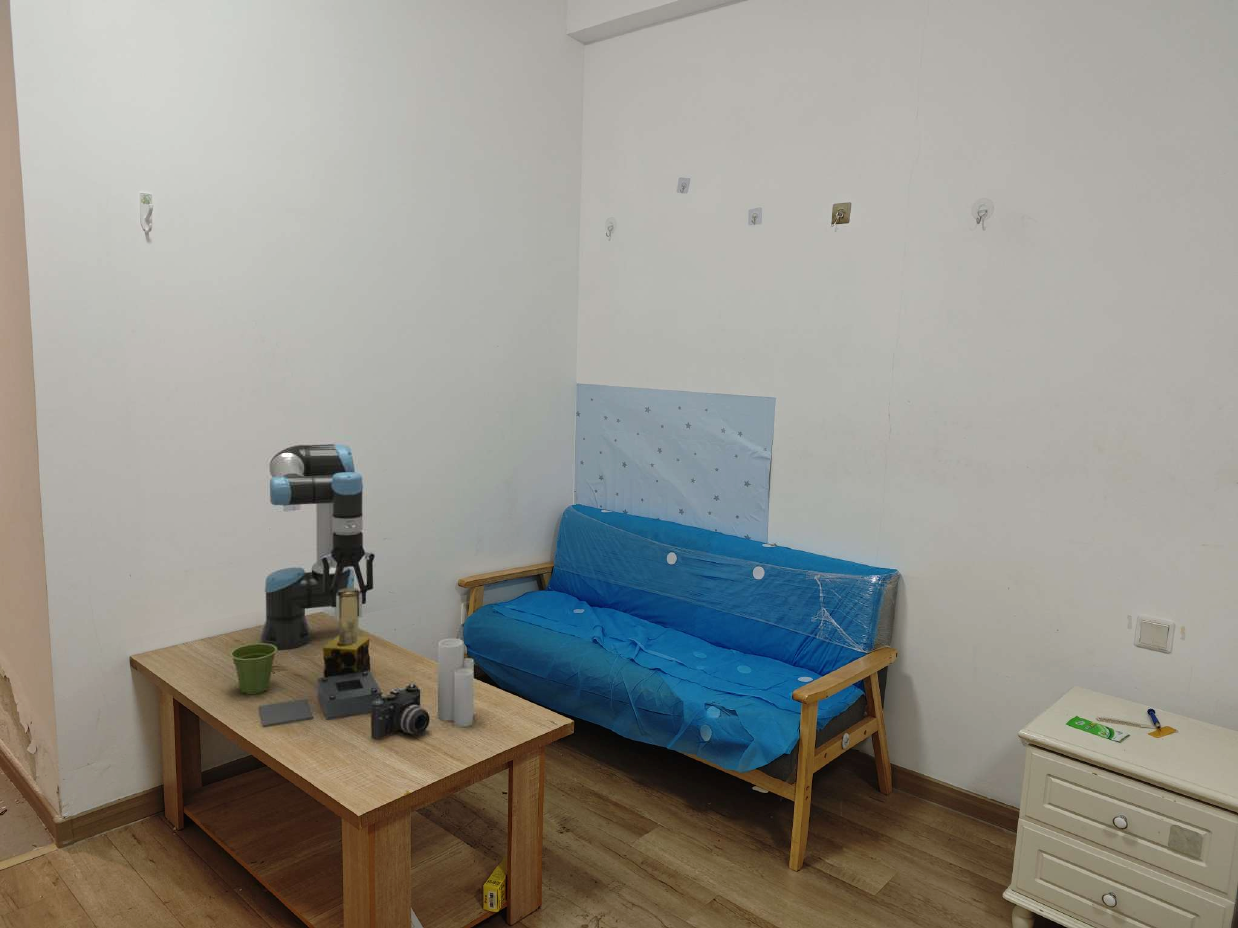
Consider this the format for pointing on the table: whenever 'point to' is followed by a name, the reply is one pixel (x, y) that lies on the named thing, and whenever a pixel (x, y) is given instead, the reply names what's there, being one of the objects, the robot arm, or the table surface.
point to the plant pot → (254, 666)
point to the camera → (398, 713)
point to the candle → (346, 657)
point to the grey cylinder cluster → (455, 683)
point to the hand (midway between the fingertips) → (348, 616)
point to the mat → (285, 712)
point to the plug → (348, 616)
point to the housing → (347, 694)
